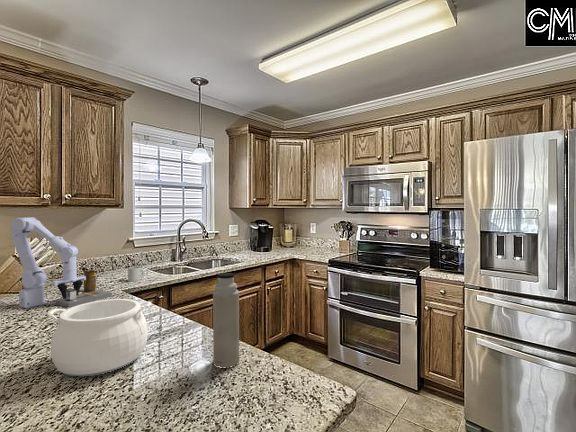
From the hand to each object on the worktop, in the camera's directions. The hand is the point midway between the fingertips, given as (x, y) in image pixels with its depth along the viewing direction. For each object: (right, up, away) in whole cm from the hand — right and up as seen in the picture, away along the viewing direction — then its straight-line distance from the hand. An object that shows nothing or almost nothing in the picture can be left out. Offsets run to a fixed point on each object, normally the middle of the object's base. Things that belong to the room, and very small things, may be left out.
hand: (70, 296), depth 160 cm
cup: (+9, -2, +50) cm, 51 cm away
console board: (+3, -3, +6) cm, 8 cm away
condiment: (-5, -3, +24) cm, 25 cm away
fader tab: (0, -1, 0) cm, 1 cm away
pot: (+51, -5, -59) cm, 79 cm away
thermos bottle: (+91, -5, -61) cm, 110 cm away
